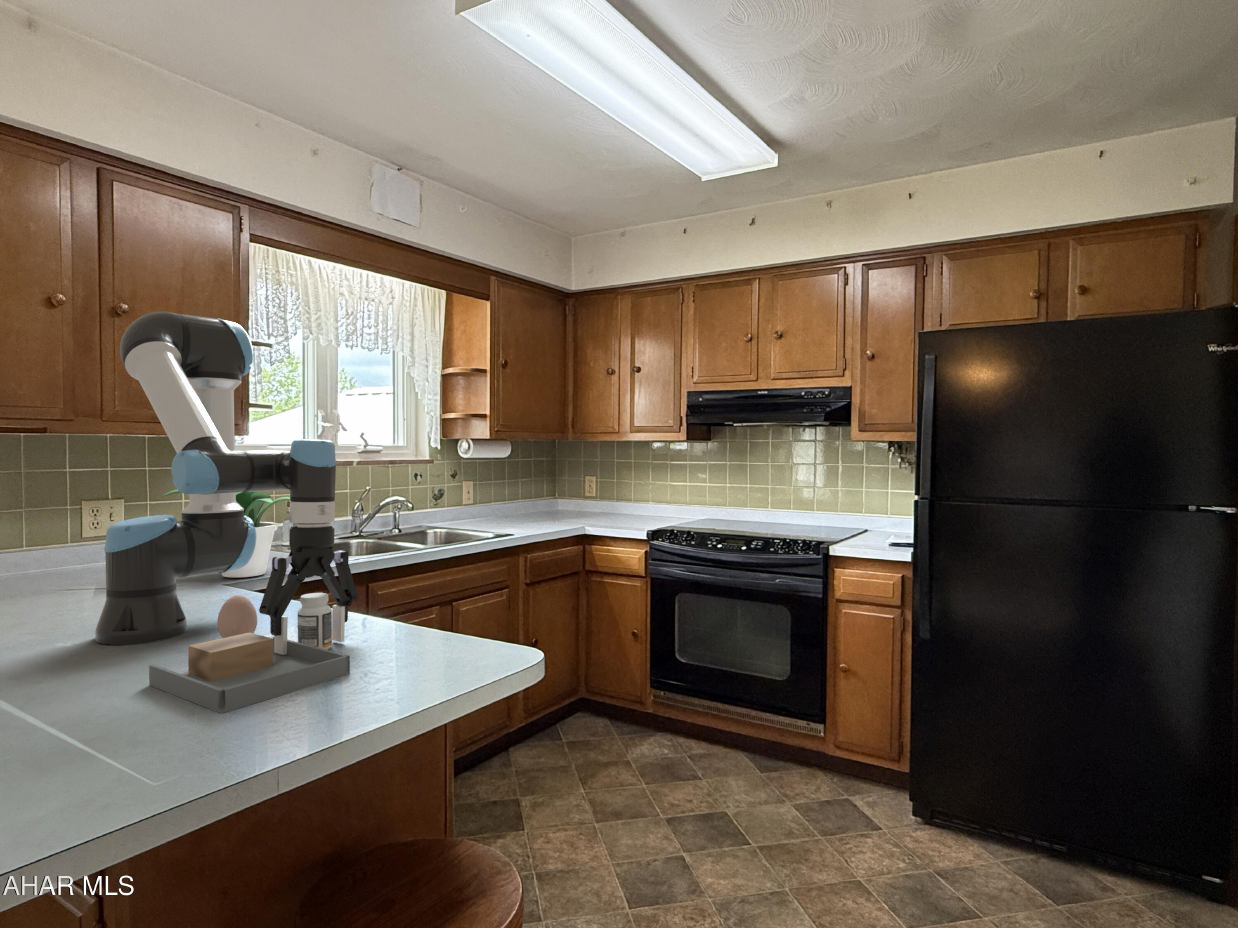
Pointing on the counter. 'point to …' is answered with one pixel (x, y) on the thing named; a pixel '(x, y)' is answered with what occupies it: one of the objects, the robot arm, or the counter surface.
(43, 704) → the counter surface
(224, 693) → the grey rimmed tray
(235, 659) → the brown rectangular block
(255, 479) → the robot arm
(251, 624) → the egg
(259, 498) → the potted plant
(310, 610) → the pill bottle
